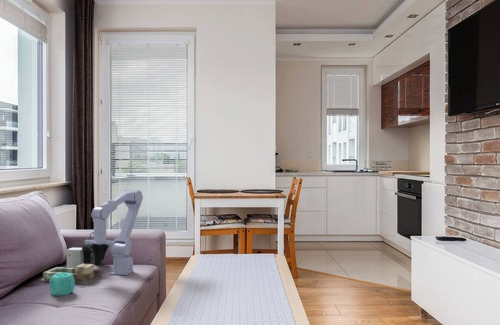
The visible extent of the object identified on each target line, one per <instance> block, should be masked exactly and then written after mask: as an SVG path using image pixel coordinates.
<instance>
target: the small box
mask: <svg viewBox="0 0 500 325" xmlns="http://www.w3.org/2000/svg"><path fill="white" fill-rule="evenodd" d="M81 264H84V263H83V250H82V247H70V248H67V249H66V268H76V266H79V265H81Z"/></svg>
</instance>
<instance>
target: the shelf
mask: <svg viewBox="0 0 500 325" xmlns="http://www.w3.org/2000/svg"><path fill="white" fill-rule="evenodd" d="M100 272H101V270H100V269H97V268H96V269H95V268H94V276H93V277H92V278H90V274H76V268H67V267H62V266H60V267H59V266H56V267H53V268H50V269H48V270H45V271H43V272H42V278H41V279H40V282H42V283H50V279H51V277H52V276H53V275H55V274H58V273H71V274H72V275H73V277H74V281H75V285H89V284H91V283H92V282H94V281H96V280H98V279H99V278H101V277H102V274H101V273H100Z"/></svg>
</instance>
